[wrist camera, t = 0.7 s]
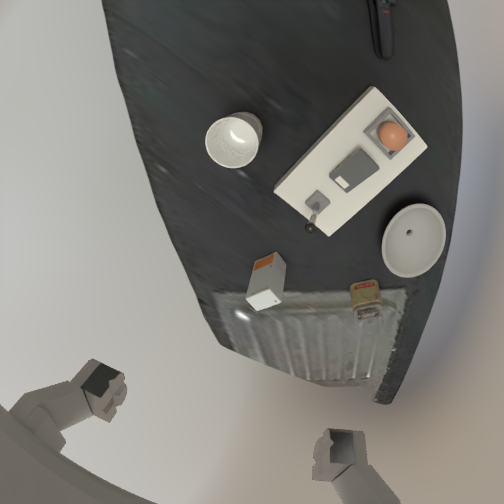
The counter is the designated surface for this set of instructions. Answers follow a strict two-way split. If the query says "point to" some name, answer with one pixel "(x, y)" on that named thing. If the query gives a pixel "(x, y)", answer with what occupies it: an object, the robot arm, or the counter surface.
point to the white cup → (234, 139)
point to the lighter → (366, 299)
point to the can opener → (382, 27)
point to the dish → (413, 240)
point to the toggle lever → (312, 219)
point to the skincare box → (267, 282)
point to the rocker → (354, 171)
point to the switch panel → (338, 151)
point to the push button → (392, 135)
